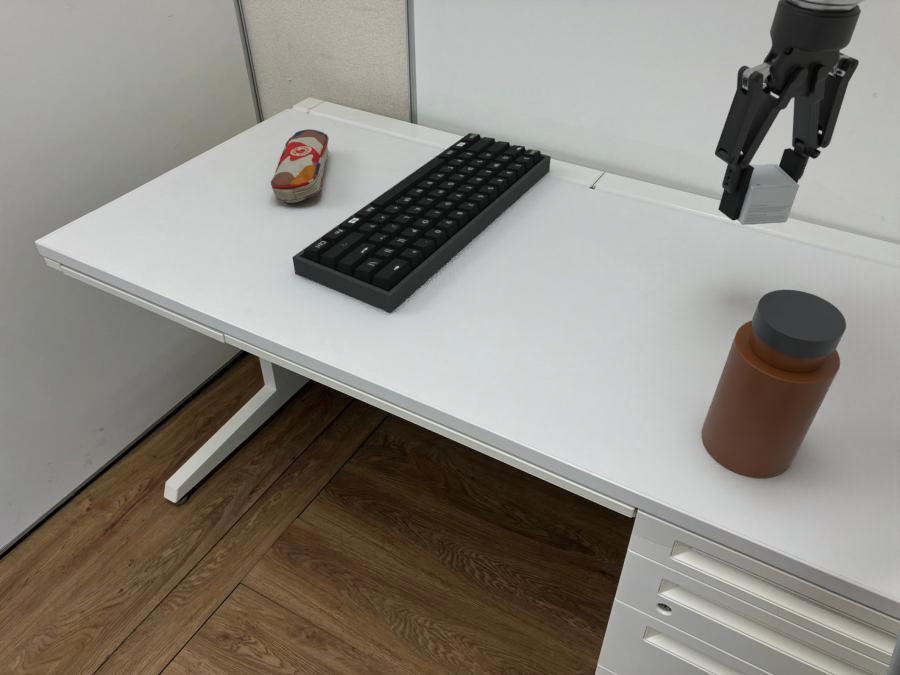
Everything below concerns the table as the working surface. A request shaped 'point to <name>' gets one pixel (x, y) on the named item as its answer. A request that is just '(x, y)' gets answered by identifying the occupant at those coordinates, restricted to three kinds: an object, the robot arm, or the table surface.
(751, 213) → the small box
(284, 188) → the pencil case
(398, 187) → the computer keyboard
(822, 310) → the bottle
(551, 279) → the table surface
